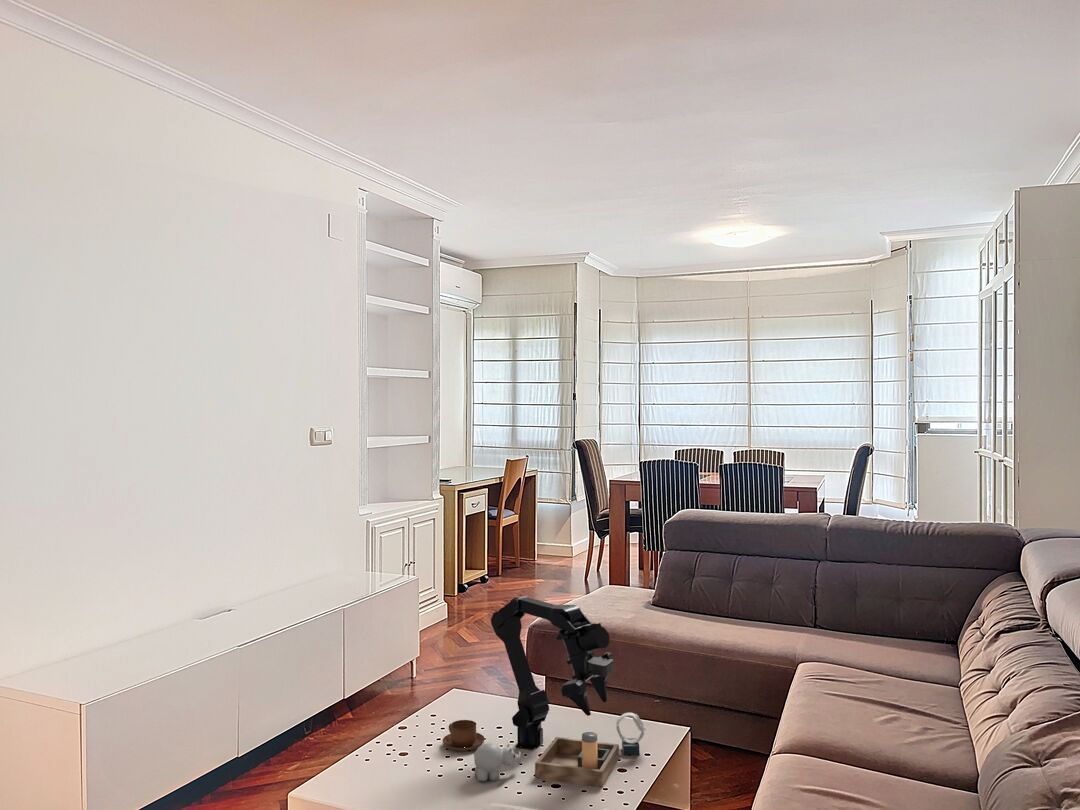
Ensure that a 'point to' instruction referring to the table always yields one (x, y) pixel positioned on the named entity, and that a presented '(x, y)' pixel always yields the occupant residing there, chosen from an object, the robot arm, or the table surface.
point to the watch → (631, 744)
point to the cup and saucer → (463, 736)
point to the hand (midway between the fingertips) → (597, 708)
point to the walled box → (575, 762)
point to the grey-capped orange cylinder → (589, 750)
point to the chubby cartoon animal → (493, 760)
